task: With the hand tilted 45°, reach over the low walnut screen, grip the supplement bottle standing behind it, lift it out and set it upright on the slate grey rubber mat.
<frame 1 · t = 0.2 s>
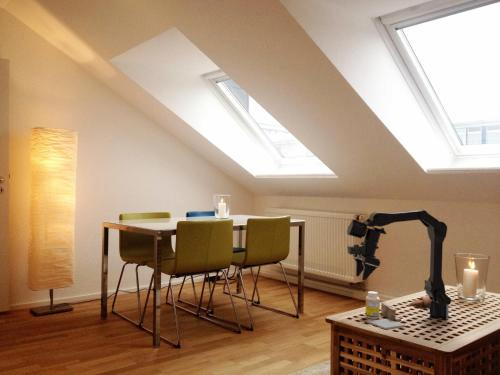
hand: (360, 278, 200), 16 cm above the table, tool tilted 15°, fingers open, 9 cm apart
supplement bottle: (372, 317, 199), on the table
slate grey mat: (385, 324, 189), on the table
walnut screen: (388, 317, 200), on the table
sunglasses case: (425, 305, 225), on the table
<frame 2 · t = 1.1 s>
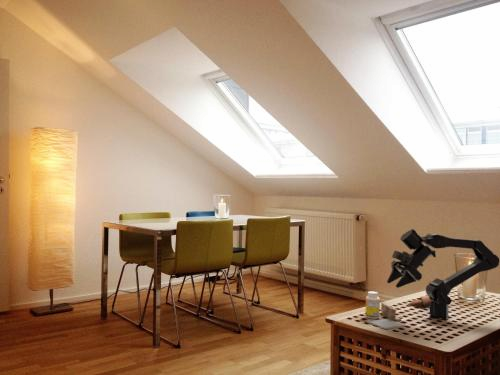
hand: (392, 284, 200), 13 cm above the table, tool tilted 45°, fingers open, 9 cm apart
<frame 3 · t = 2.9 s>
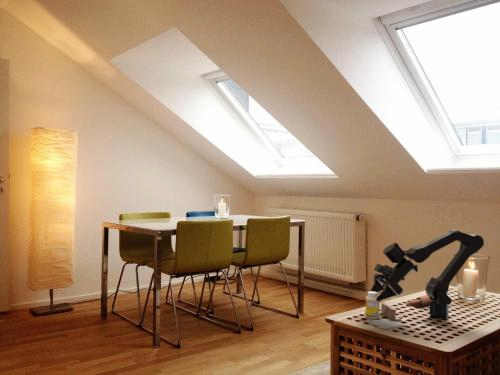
hand: (372, 297, 199), 8 cm above the table, tool tilted 45°, fingers open, 9 cm apart
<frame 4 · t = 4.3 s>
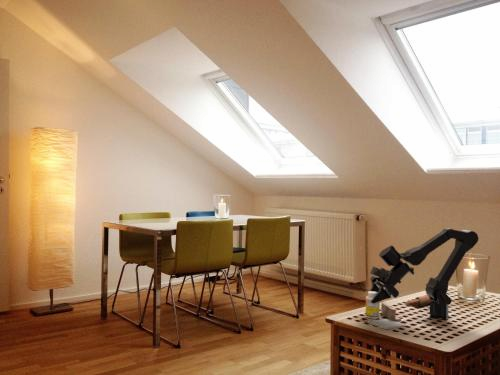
hand: (369, 301, 199), 7 cm above the table, tool tilted 45°, fingers closed on supplement bottle, 6 cm apart
supplement bottle: (372, 317, 199), on the table, touching gripper
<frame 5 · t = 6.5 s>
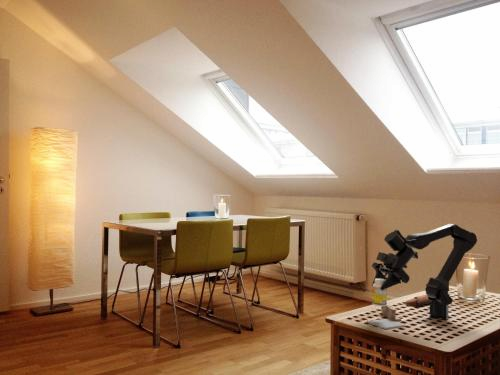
hand: (376, 287, 193), 13 cm above the table, tool tilted 45°, fingers closed on supplement bottle, 5 cm apart
supplement bottle: (379, 305, 193), point 6 cm above the table, touching gripper
when the fingers open (8 cm above the table, at t = 8.9 s): supplement bottle stays where it is, resting on slate grey mat.
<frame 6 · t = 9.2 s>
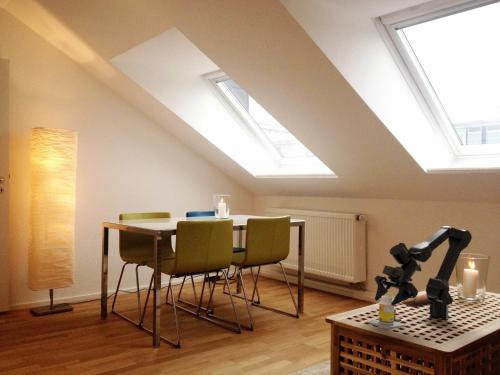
hand: (383, 302, 188), 9 cm above the table, tool tilted 45°, fingers open, 9 cm apart
supplement bottle: (386, 323, 189), resting on slate grey mat
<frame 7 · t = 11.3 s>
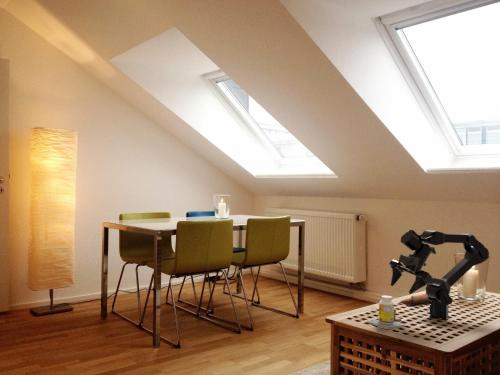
hand: (400, 289, 196), 12 cm above the table, tool tilted 35°, fingers open, 9 cm apart
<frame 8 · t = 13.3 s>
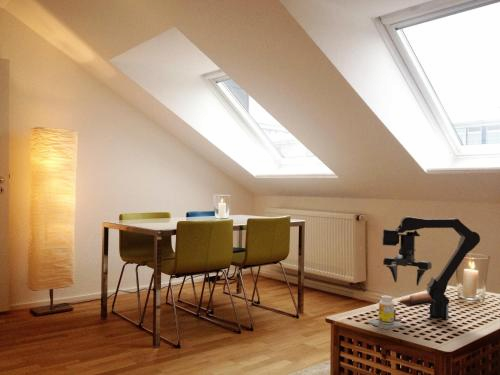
hand: (406, 283, 205), 13 cm above the table, tool pointing down, fingers open, 9 cm apart
at the end: supplement bottle 0.1 cm off-centre on the slate grey mat, point 0.4 cm above the slate grey mat's base; supplement bottle tilted 0°; the gripper is holding nothing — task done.
